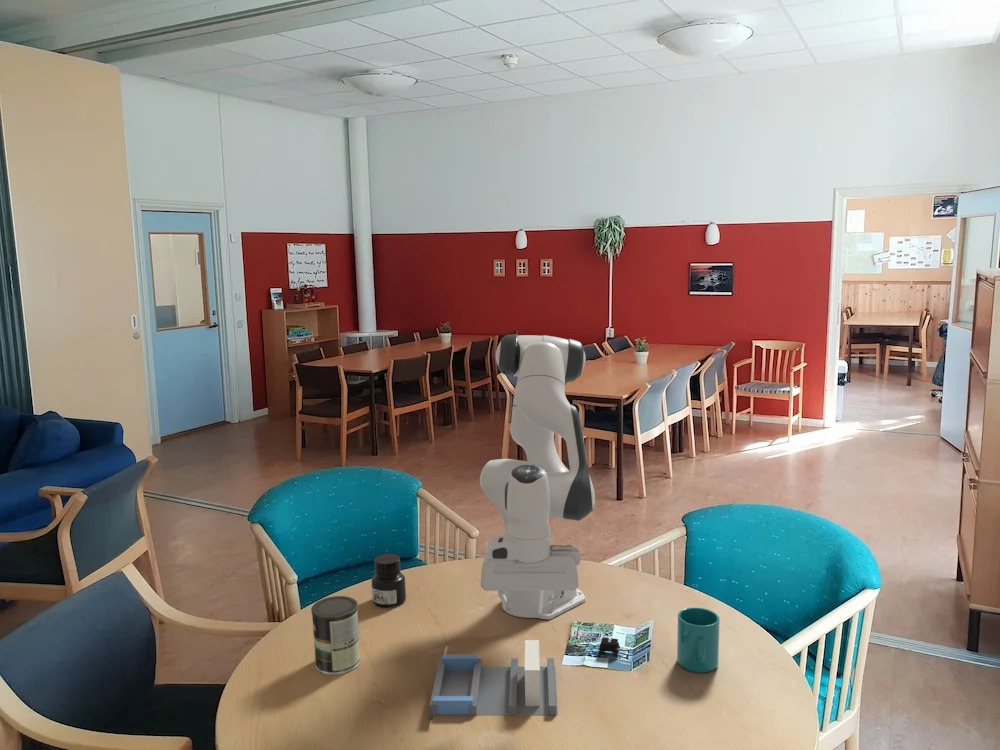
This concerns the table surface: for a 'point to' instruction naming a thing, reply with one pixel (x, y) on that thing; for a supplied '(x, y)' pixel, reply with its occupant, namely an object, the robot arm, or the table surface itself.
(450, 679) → the board
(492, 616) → the table surface
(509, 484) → the robot arm
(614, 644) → the black notched block
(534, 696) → the plug block
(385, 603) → the ink bottle
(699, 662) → the cup
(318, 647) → the coffee can
